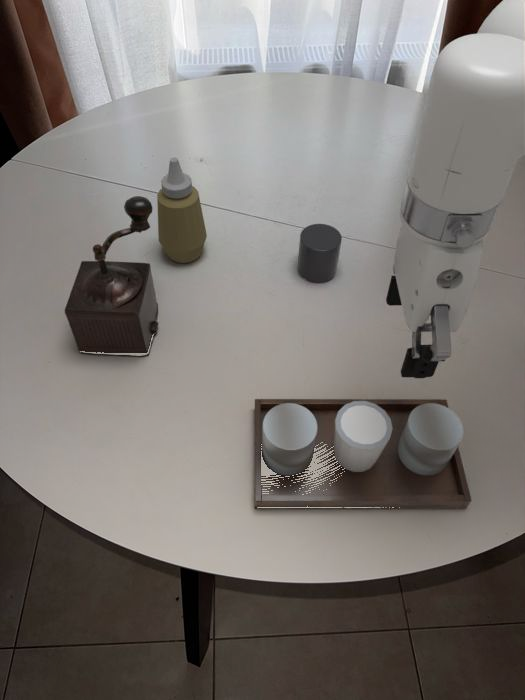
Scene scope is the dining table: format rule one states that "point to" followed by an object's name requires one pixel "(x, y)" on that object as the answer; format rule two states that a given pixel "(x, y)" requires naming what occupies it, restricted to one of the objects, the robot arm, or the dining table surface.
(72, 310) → the manual coffee grinder
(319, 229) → the grey cylinders
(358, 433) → the white cup
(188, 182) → the squeeze bottle
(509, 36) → the robot arm
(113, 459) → the dining table surface
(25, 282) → the dining table surface
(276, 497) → the tray
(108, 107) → the dining table surface
